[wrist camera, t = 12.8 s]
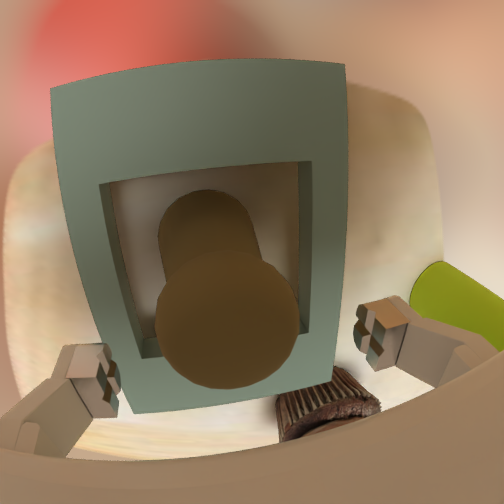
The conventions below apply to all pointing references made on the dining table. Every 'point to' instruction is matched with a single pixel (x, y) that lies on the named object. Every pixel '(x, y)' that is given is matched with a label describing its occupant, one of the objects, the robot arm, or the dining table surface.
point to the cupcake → (324, 406)
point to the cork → (220, 296)
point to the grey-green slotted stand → (202, 157)
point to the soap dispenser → (459, 302)
